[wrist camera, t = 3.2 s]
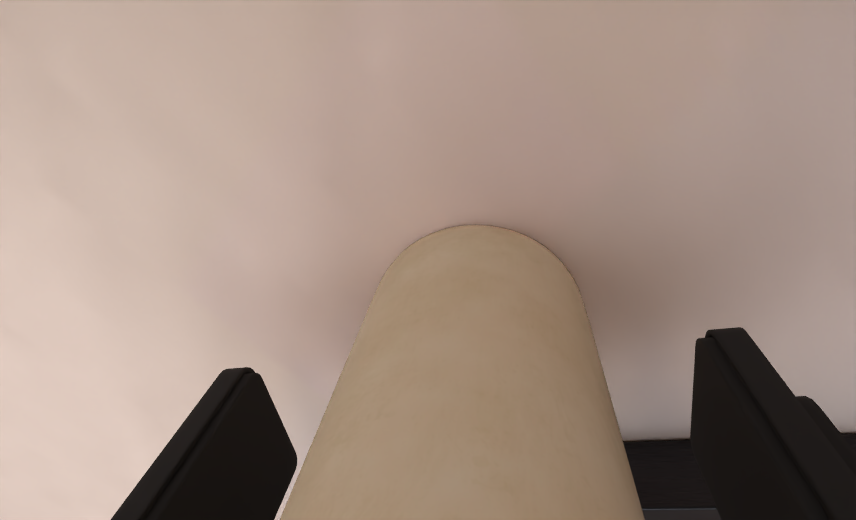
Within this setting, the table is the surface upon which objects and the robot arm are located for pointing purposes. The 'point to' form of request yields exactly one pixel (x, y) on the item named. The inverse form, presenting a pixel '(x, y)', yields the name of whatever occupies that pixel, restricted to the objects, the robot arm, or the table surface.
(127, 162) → the table surface
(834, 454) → the robot arm
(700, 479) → the hot plate
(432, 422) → the candle
